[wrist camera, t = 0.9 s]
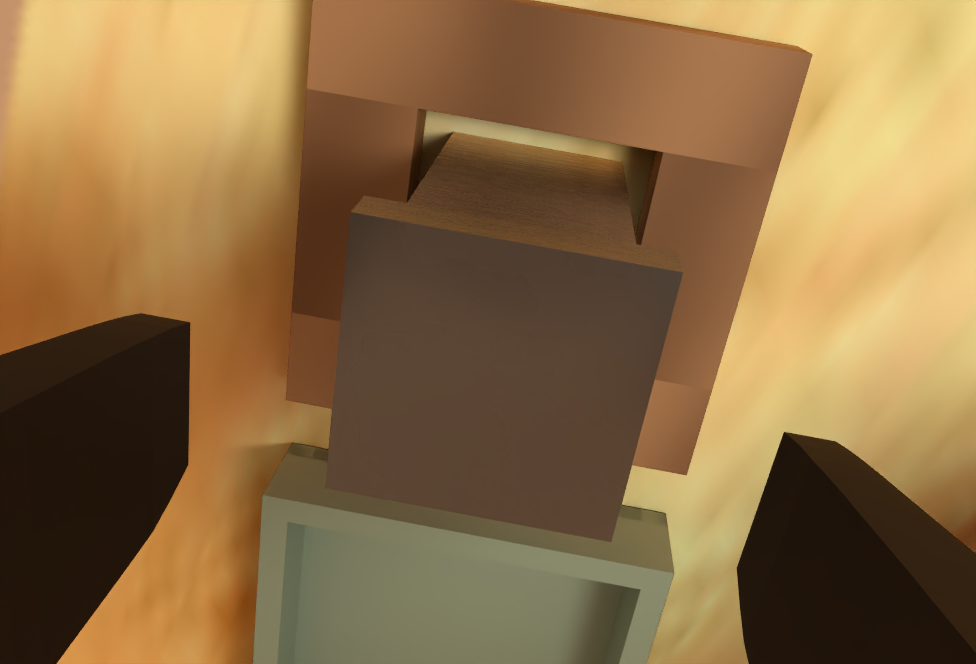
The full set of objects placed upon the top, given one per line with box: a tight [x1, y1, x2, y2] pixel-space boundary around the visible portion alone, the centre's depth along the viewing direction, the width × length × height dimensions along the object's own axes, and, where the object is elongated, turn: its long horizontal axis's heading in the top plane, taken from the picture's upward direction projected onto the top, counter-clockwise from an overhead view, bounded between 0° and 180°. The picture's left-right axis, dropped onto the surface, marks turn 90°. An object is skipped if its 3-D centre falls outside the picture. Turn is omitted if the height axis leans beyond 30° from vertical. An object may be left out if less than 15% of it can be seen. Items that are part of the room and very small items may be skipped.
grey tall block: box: [325, 132, 683, 542], centre depth 15 cm, size 4×4×7 cm
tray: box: [253, 443, 674, 664], centre depth 22 cm, size 9×9×2 cm
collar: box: [286, 0, 812, 475], centre depth 18 cm, size 9×9×1 cm
